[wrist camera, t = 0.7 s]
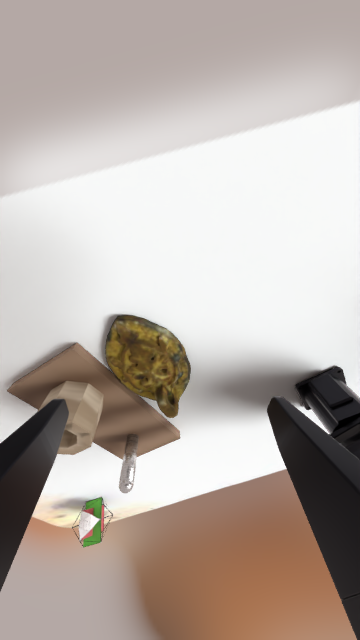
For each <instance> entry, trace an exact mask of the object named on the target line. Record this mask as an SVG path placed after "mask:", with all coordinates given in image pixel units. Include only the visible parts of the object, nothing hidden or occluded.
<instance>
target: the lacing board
mask: <svg viewBox="0 0 360 640" xmlns="http://www.w3.org/2000/svg"><path fill="white" fill-rule="evenodd" d="M65 381H72V382H82V383H89V384H90V385H92V386H93V387H94V388H96V389H97V390H98V391H100V392H101V393H102V394H104V396H103V409H102V412H101V415H100V419H99V422H98V425H97V428H96V432H95V435H94V438H93V441H92V442H94V443H95V444H97V445H99V446H101V447H102V448H104V449H106V450H107V451H109V452H111V453H112V454H114V455H116V456H117V457H119V458H121V459H122V460H123V457H124V451H125V445H126V439H127V436H128V435H129V434H137V435H138V436H139V439H138V448H137V457H138V456H140V455H143V454H145V453H147V452H150V451H152V450H154V449H157V448H159V447H161V446H164V445H166V444H168V443H171V442H173V441H175V440H178V439H180V431H179V430H178V429H177V428H176V427H174V426H173V425H172V424H171V423H170V422H169V421H167V420H166V419H165V418H164V417H163V416H162V415H160V414H159V413H158V412H157V411H156V410H155V409H154V408H152V407H151V406H150V405H149V404H148V403H147V402H145V401H144V400H143V399H142V398H141V397H140V396H138V395H137V394H136V393H134V392H133V391H131V390H130V389H128V388H127V387H126V386H125V385H124V384H123V383H121V381H120V380H119V378H117V377H116V376H115V375H114V374H113V373H112V372H111V371H110V370H108V369H107V368H106V367H105V366H104V365H103V364H101V363H100V362H99V361H98V360H97V359H96V358H94V357H93V356H92V355H91V354H90V353H89V352H88V351H86V350H85V349H84V348H83V347H82V346H81V345H79V344H78V343H76V344H74V345H73V346H71V347H70V348H68V349H66V350H65V351H63V352H62V353H60V354H59V355H57V356H55V357H54V358H52V359H51V360H49V361H48V362H46V363H44V364H43V365H41V366H40V367H38V368H37V369H35V370H34V371H32V372H30V373H29V374H27V375H26V376H24V377H23V378H21V379H19V380H18V381H16V382H15V383H13V384H12V386H11V387H10V388H9V389H8V390H7V391H8V392H9V393H11V394H13V395H14V396H16V397H18V398H19V399H21V400H23V401H25V402H26V403H28V404H30V405H31V406H33V407H35V408H36V409H38V410H39V408H40V407H41V405H42V404H43V402H44V400H45V399H46V397H47V396H48V394H49V392H50V391H51V390H52V389H53V388H55V387H57V386H59V385H60V384H62V383H64V382H65Z"/></svg>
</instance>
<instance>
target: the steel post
mask: <svg viewBox="0 0 360 640" xmlns="http://www.w3.org/2000/svg"><path fill="white" fill-rule="evenodd" d="M138 439H139V436H138V435H137V434H129V435H128V436H127V439H126V445H125V451H124V457H123V464H122V470H121V476H120V482H119V489H120V491H121V492H122V493H128V492H129V491H131V489H132V487H133V484H134V475H135V466H136V457H137V448H138Z"/></svg>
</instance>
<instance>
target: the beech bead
mask: <svg viewBox="0 0 360 640" xmlns="http://www.w3.org/2000/svg"><path fill="white" fill-rule="evenodd" d="M103 396H104V394H102V393H101V392H100V391H98V390H97V389H96V388H94V387H93V386H92V385H90V384H89V383H82V382H72V381H65V382H64V383H62V384H60V385H59V386H57V387H55V388H53V389H52V390H51V391H50V392H49V394H48V396H47V397H46V399H45V400H44V402H43V404H42V405H41V407H40V408H39V410H41V409H42V408H43V407H44V406H45V405H46V404H48V403H49V402H50V401H51V400H53V399H65V401H66V404H67V407H68V410H69V416H68V420H67V423H66V426H65V430H64V433H63V436H62V439H61V443H60V446H59V449H58V452H57V454H71V455H74V454H76V453H79V452H81V451H83V450H85V449H87V448H89V447H91V444H92V441H93V438H94V435H95V432H96V428H97V425H98V422H99V419H100V415H101V412H102V409H103ZM39 410H38V411H39Z"/></svg>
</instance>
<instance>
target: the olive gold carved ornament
mask: <svg viewBox="0 0 360 640" xmlns="http://www.w3.org/2000/svg"><path fill="white" fill-rule="evenodd" d="M105 353H106V359H107V362H108V365H109V367H110V368H111V370H112V371H113V373H114V374H115V375H116V377H117V378H119V380H120V381H121V383H123V384H124V385H125V386H126V387H127V388H128V389H130V390H131V391H133V392H134V393H136V394H138V395H140V396H143V397H146V398H149V399H152V400H155V401H157V403H158V406H159V408H160V410H161V411H162V412H163V413H164V414H165V415H166V416H167V417H169V418H174V417H175V416H177V415H178V402H179V399H180V397H181V395H182V394H183V392H184V390H185V389H186V387H187V384H188V382H189V379H190V372H191V367H190V363H189V361H188V358H187V356H186V352H185V349H184V347H183V345H182V344H181V343H180V341H179V340H178V339H177V338H176V337H175V336H174V335H173V334H172V333H171V332H170V331H168V330H167V329H166V328H164V327H162V326H159V325H157V324H155V323H152V322H150V321H148V320H146V319H143V318H139V317H136V316H129V315H124V316H118V317H117V318H116V319H115V321H114V323H113V325H112V327H111V329H110V332H109V334H108V336H107V341H106V352H105Z"/></svg>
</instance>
